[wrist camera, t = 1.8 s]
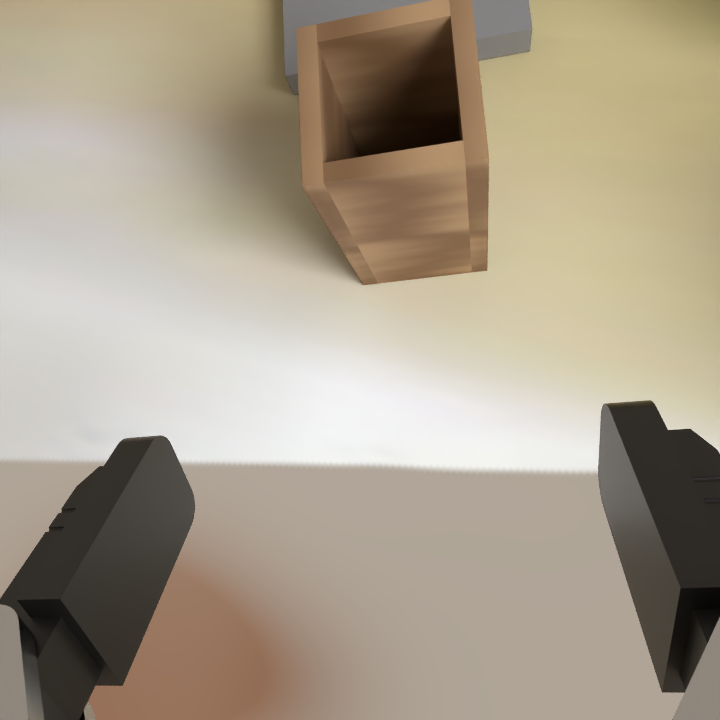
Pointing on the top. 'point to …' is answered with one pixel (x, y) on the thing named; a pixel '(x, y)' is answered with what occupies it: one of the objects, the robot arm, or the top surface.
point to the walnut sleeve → (397, 139)
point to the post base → (490, 4)
